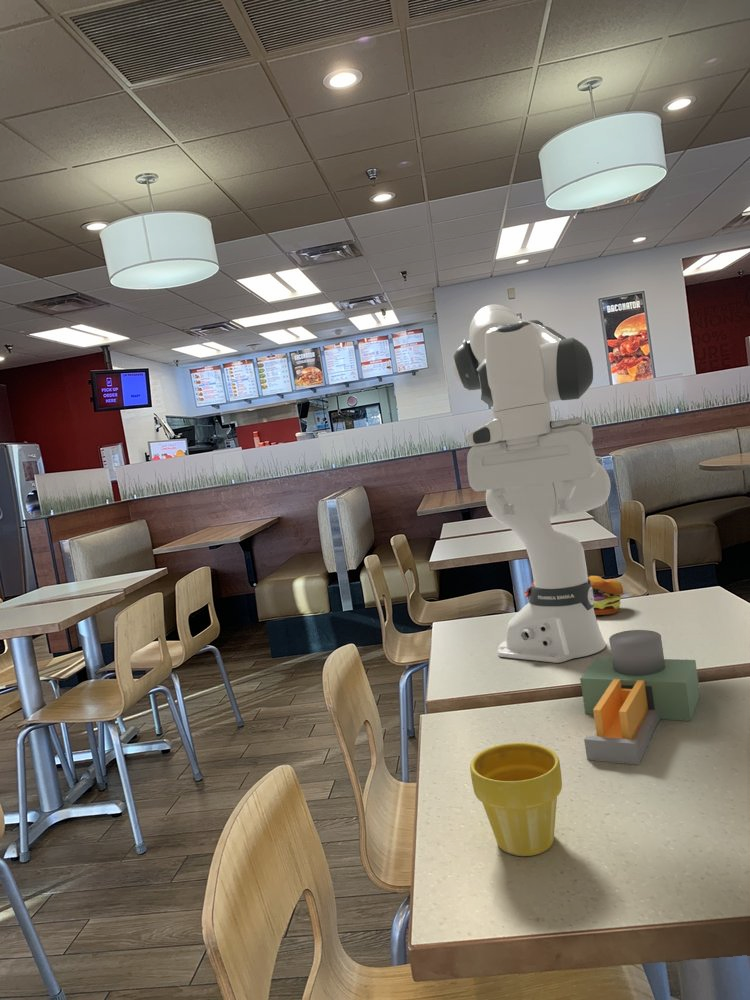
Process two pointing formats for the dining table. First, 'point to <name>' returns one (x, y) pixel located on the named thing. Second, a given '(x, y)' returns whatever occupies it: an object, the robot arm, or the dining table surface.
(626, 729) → the chute
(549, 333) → the robot arm
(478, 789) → the plant pot
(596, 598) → the cheeseburger
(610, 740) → the green coffee machine
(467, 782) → the dining table surface
